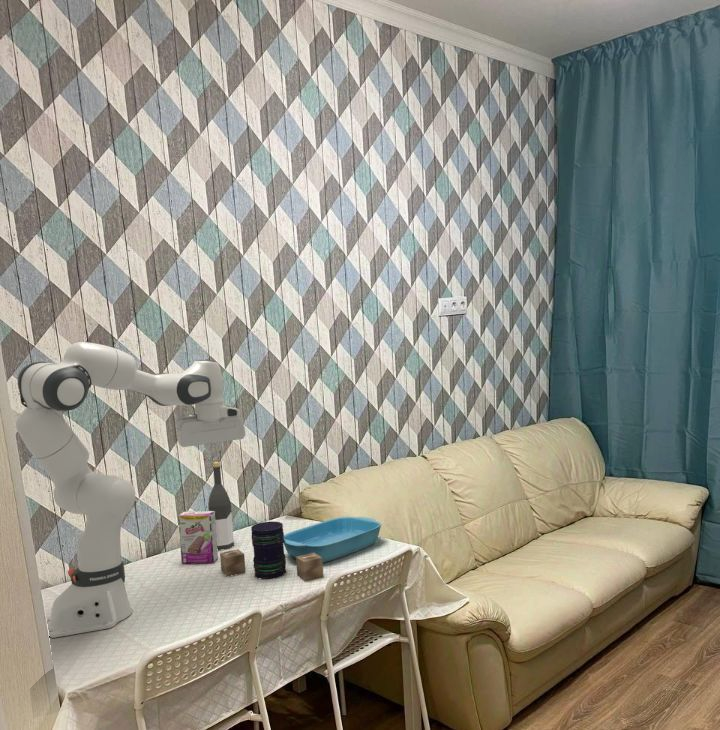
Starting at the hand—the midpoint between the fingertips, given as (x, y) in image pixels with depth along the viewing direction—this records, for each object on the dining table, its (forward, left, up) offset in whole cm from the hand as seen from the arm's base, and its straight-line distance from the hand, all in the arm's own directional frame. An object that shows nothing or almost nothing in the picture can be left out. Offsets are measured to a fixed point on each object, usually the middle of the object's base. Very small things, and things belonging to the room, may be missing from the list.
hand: (213, 457), depth 214 cm
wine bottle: (+9, +30, -37) cm, 49 cm away
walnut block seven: (+4, +2, -37) cm, 37 cm away
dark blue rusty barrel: (+13, -7, -37) cm, 40 cm away
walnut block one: (+22, -17, -37) cm, 46 cm away
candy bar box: (-2, +19, -37) cm, 42 cm away
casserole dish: (+39, +2, -38) cm, 54 cm away
